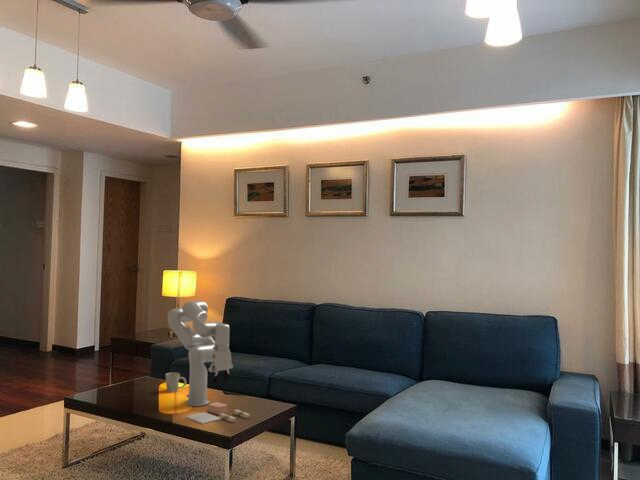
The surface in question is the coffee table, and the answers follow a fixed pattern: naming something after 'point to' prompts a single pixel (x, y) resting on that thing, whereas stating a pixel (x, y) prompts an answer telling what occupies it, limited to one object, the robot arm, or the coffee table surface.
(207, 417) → the mat
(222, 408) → the block
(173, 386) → the mug
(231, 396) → the coffee table surface
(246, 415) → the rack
